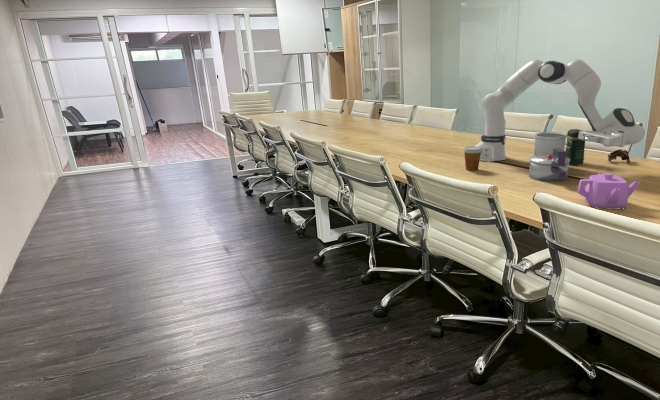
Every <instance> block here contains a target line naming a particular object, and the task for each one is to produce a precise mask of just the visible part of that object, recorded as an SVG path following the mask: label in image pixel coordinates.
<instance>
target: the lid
mask: <svg viewBox="0 0 660 400" xmlns="http://www.w3.org/2000/svg"><path fill="white" fill-rule="evenodd" d="M530 161H531V162H534V163H538V164H549V165H556V166H565V164H566V163H569V162H570V158H568V157H566V150H565V149H564V150H562V149H561V148H556V149H553V155H535V156H534V155H531V156H530V157H529V162H530Z"/></svg>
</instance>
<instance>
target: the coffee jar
mask: <svg viewBox="0 0 660 400" xmlns="http://www.w3.org/2000/svg"><path fill="white" fill-rule="evenodd" d="M580 131H583V129H578V128H571V129H569V130H568V131H567V133H566V135H567V137H566V144H565V151H566V157H568V158H570V162H569V165H574V166H580V165H583V164H584V159H585V147H586V141H583V140H581V139H579V138H578V135H579V132H580Z"/></svg>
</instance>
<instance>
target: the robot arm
mask: <svg viewBox="0 0 660 400" xmlns="http://www.w3.org/2000/svg"><path fill="white" fill-rule="evenodd" d="M540 80H541V81H542V82H544V83H547V84H551V85H561V84H563V83H565V82H568V83H569V84H570V85H571V86H572V88H574V91H575V92H576V96H577V103H578V106H579V108H580V110H581V112H582V113H583V115H584V116H585V118H586V119H587V121H588V123H589V125H590V127H591V129H592V130H582V131H580V132H579V135H578V138H579V139H581V140H583V141H585V142H587V143H588V142H589V143H590V142H591V143H595V144H599V145H603V146H604V147H607V148H609V147H617V148H625V146H630V145H635V144H638V143H640V142H641V141H642V140H643V139H644V137H645V134H646V130H645V128H644V127H643V126H641V125H639V124H638V123H636V121H635V119H634V115H633V114H632V112H631V111H630V110H628V109H625V108H623V107H618V108H617V107H616V108H615V109H614V108H613V110H612V111H611V112H609V113H608V114H607V115H606V116H605V117H604V118H602V116H601V114H600V113H599V110H598V109H597V108H596V105H595V103H596V98H597V96H598V93H599V91H600V89H601V86H602V80H601V78H600V76H599V75H598V74H597V73H596V72H595V71H594V69H593V68H592V67H591V66H590V65H588V64H587V63H586V62H585V61H584V60H582V59H577V58H576V59H574V60H571V61H570V62H569V63H567V64H565V63H563V62H560V61H556V60H547V61H545V62H543V61H542V60H541V59H538V58H537V59H536V58H535V59H532V60H531V61H529V62H527V63H525V64H524V65H523V66H522V67H520V68H519V69H518V70H517V71H516V72H515V73H513V74H512V75H510V77H508V79H506V80H505V82H504V83H503V84H502V85H501V86H500V87H499V88H498V89H497V90H496V91H493V92H490V93H488V94H487V95H485V96H484V97H483V98H482V101H481V107H482V110H483V114H484V115H483V116H484V120H485V121H484V122H485V123H484V133H483V134H482V135H481V136H480V140H481V141H479V142H478V143H476V144H475V145H474V146H475V147H481V150H482V151H481V155H480V161H479V162H488V163H490V162H498V161H504V160H506V159H507V155H506V148H505V147H506V138H507V137H506V119H505V113H504V109H506V108H507V107H509V106H510V105H511V104H512V103H513V102H514V101H515V100H516V99H517V98H518V97H520V96H521V95H522V94H523V93H524V92H525V91H527V90H528V89H529V88H530V87H531V86H533V85H534V84H535V83H536V82H538V81H540Z"/></svg>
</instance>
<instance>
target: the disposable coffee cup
mask: <svg viewBox="0 0 660 400" xmlns="http://www.w3.org/2000/svg"><path fill="white" fill-rule="evenodd" d="M462 151H463V153H464V161H465V170H466V171H468V170H469V172H471V171H472V172H474V171H478V170H479V166H480V162H481V161H480V155H481V151H482V150H481V147H475V145H474V146H473V145H472V146H466V147H464V149H463V150H462Z"/></svg>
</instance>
